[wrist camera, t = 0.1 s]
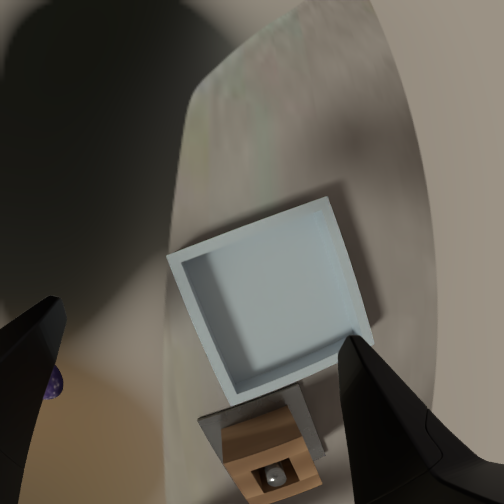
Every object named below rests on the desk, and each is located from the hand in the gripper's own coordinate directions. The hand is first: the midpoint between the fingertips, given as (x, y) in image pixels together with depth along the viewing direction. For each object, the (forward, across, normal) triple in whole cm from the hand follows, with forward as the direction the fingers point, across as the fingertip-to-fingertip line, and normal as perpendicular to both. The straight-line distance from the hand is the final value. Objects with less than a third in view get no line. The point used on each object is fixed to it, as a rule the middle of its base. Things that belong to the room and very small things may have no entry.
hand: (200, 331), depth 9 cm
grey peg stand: (+5, -6, +20) cm, 21 cm away
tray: (+12, -5, +9) cm, 16 cm away
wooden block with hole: (+4, -7, +20) cm, 22 cm away
